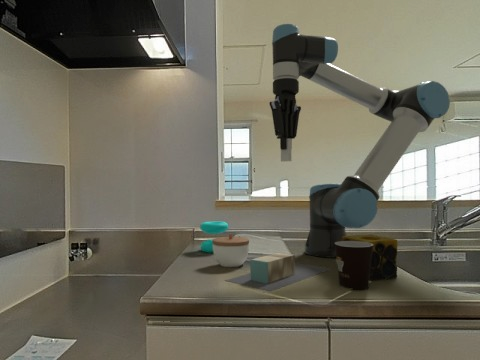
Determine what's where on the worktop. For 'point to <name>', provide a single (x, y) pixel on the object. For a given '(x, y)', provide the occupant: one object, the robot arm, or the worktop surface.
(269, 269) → the birch block
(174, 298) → the worktop surface
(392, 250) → the yellow patterned cube
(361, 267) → the coffee mug
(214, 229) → the donuts
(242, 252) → the lidded jar
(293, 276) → the rubber mat
